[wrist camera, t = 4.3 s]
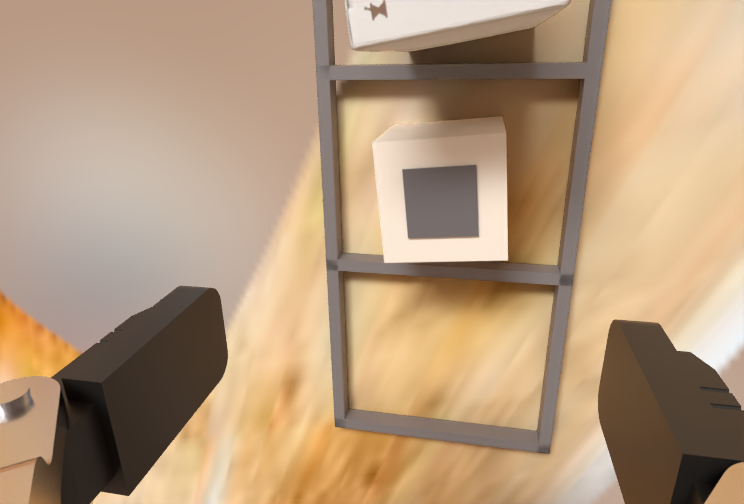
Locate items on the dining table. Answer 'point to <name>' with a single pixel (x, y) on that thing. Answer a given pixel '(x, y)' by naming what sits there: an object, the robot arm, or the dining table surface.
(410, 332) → the dining table surface
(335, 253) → the frame
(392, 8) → the small box
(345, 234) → the dining table surface
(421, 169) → the white and grey cube
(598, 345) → the dining table surface
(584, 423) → the dining table surface
